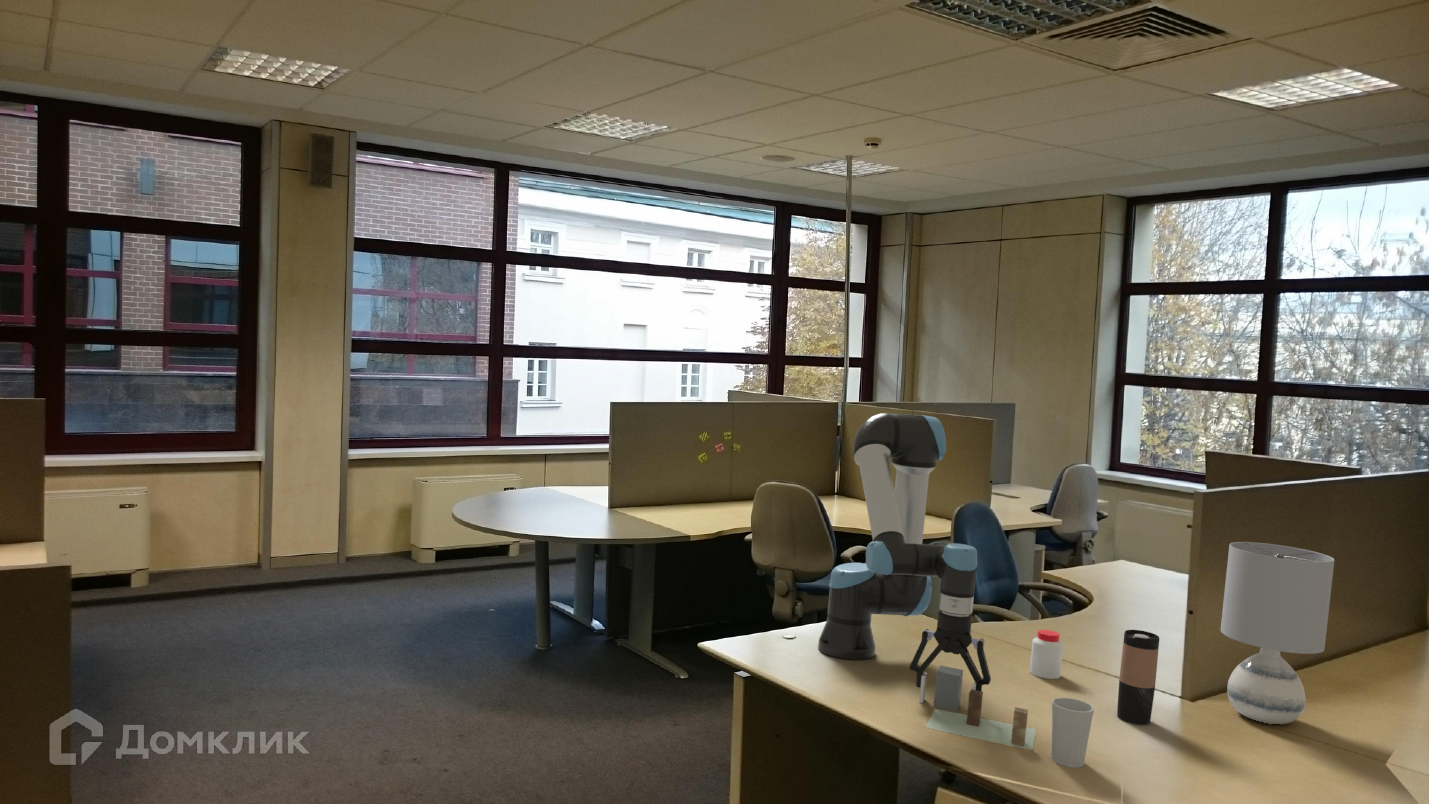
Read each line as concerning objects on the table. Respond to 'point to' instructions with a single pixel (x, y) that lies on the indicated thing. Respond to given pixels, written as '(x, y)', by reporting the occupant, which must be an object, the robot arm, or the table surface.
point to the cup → (1070, 731)
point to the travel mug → (1137, 676)
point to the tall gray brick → (948, 688)
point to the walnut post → (974, 707)
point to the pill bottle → (1046, 655)
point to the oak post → (1019, 726)
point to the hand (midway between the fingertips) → (946, 706)
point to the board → (978, 728)
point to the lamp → (1274, 624)
